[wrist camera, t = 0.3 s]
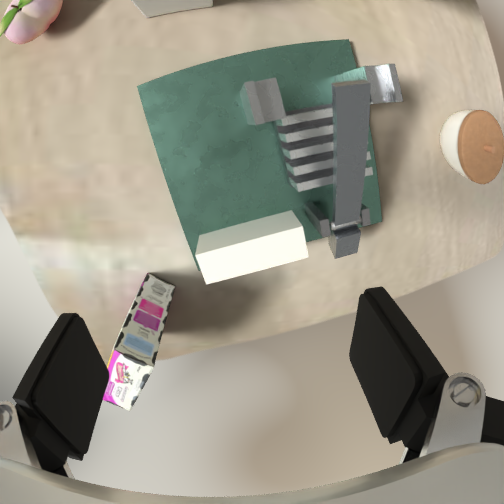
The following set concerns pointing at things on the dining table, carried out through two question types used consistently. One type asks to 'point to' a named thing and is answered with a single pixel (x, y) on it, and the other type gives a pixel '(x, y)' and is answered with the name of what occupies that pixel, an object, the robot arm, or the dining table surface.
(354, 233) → the grey capped bar
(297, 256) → the plain white rectangular block
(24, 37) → the decorative fruit
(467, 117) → the lidded jar
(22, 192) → the dining table surface
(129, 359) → the candy bar box
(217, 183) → the green base metal fixture
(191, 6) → the soap bottle
